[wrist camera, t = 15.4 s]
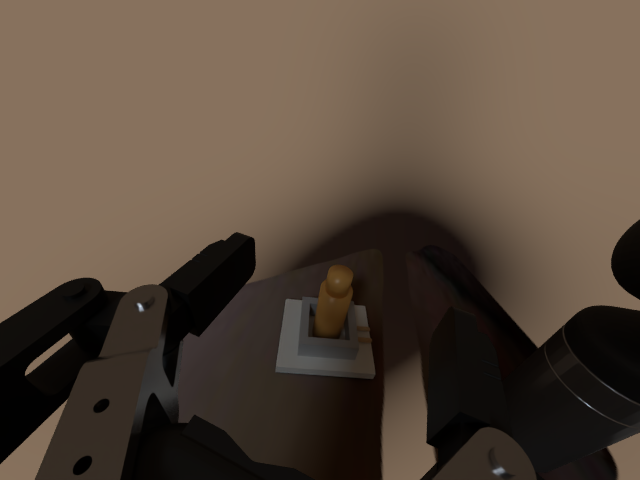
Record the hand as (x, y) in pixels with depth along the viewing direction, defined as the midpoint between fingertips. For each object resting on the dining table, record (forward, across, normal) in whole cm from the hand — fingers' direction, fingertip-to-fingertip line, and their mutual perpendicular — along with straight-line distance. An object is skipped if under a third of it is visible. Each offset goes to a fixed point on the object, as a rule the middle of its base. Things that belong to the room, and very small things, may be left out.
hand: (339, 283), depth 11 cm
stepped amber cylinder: (+17, +3, +28) cm, 33 cm away
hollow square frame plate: (+17, +3, +30) cm, 35 cm away
